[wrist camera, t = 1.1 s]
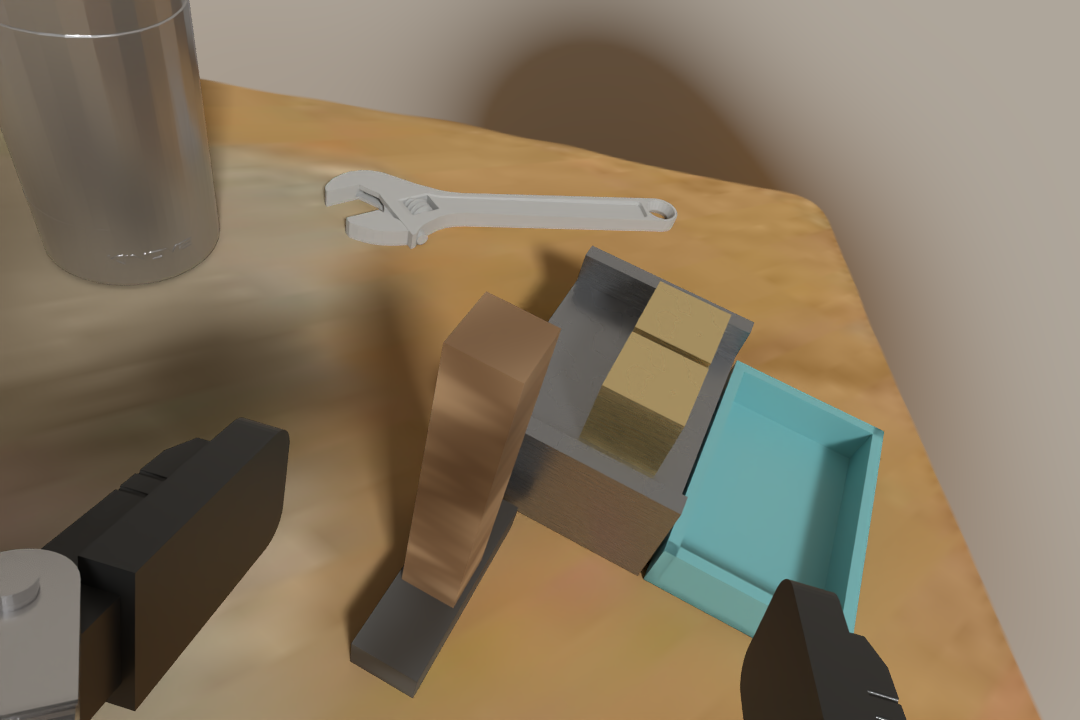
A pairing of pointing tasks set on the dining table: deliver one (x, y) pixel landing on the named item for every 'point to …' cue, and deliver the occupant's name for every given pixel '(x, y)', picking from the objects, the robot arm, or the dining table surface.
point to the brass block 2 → (644, 403)
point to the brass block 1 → (683, 324)
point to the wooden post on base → (459, 486)
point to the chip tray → (771, 503)
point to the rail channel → (565, 403)
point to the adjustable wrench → (479, 210)
